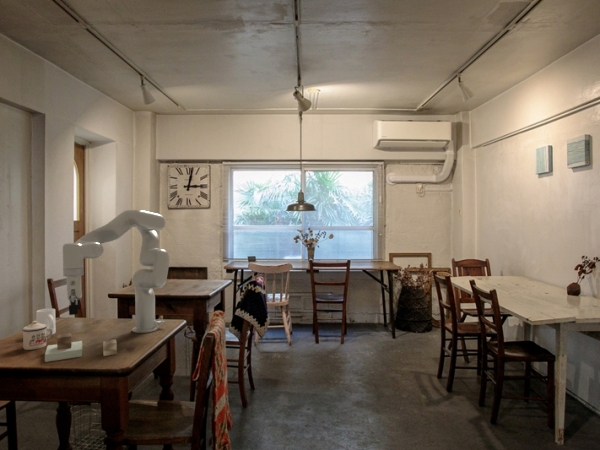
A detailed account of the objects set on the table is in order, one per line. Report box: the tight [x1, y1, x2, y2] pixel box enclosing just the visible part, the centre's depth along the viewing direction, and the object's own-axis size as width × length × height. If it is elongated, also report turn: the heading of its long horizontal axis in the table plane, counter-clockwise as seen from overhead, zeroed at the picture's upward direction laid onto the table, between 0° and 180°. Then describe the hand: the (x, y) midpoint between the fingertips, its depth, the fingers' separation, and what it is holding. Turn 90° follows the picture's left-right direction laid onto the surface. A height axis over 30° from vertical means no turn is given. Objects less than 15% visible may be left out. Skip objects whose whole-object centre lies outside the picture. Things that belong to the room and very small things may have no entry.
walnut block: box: [56, 332, 73, 350], centre depth 165 cm, size 5×5×5 cm
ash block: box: [102, 339, 118, 357], centre depth 166 cm, size 5×5×5 cm
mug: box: [35, 307, 57, 337], centre depth 193 cm, size 8×12×12 cm
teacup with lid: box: [21, 320, 53, 351], centre depth 176 cm, size 12×9×12 cm
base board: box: [44, 340, 83, 363], centre depth 165 cm, size 13×13×3 cm
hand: (74, 311), depth 165 cm, fingers open, 9 cm apart
